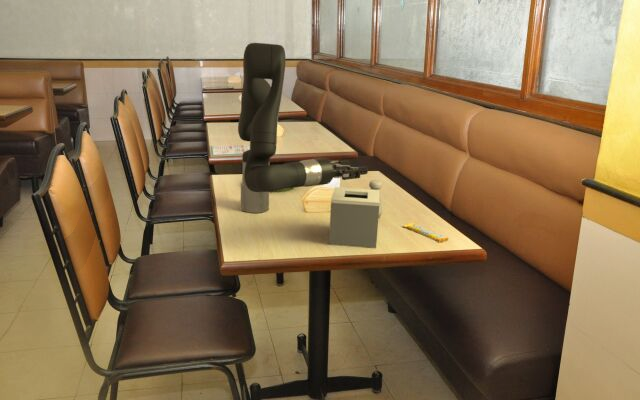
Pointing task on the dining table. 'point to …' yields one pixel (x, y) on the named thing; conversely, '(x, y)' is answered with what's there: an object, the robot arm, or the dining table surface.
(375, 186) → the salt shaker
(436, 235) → the candy bar
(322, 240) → the dining table surface
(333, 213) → the tissue box
